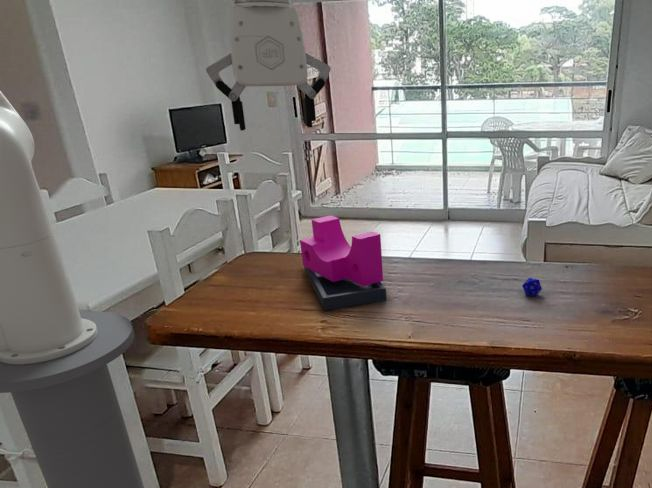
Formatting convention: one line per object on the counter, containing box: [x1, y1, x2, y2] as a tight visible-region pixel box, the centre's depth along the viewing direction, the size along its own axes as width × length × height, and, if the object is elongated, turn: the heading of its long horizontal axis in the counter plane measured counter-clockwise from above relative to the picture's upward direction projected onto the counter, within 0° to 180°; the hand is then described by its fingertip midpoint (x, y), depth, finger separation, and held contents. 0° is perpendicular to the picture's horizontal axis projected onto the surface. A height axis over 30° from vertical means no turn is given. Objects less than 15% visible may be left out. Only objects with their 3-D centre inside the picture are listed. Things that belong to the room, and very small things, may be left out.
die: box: [521, 277, 543, 297], centre depth 87 cm, size 3×3×3 cm
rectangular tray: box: [303, 266, 387, 311], centre depth 93 cm, size 10×19×2 cm, turn 19°
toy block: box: [299, 215, 384, 286], centre depth 92 cm, size 15×6×8 cm, turn 37°
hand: (276, 127), depth 85 cm, fingers open, 9 cm apart
